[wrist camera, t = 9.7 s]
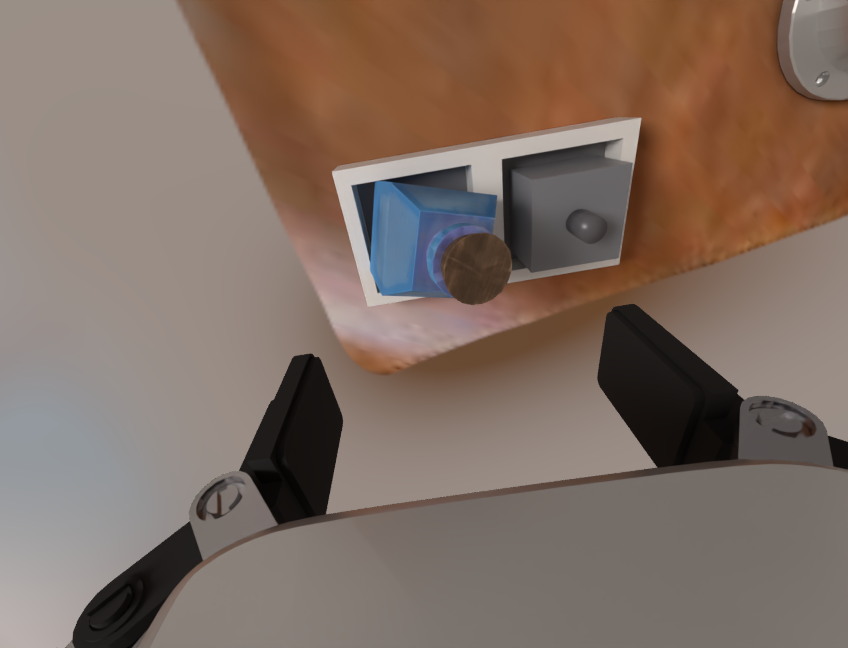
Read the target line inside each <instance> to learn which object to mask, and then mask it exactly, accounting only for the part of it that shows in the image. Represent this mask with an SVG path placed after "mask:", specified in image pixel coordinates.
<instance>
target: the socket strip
mask: <svg viewBox="0 0 848 648" xmlns="http://www.w3.org/2000/svg"><path fill="white" fill-rule="evenodd" d="M640 124H641V118H617V117H616V118H610V119H604V120H598V121H593V122H587V123H581V124H576V125H570V126H564V127H558V128H553V129H547V130H541V131H535V132H530V133H524V134H518V135H513V136H507V137H501V138H495V139H490V140H484V141H478V142H472V143H467V144H461V145H455V146H450V147H444V148H438V149H432V150H427V151H421V152H415V153H409V154H404V155H398V156H392V157H387V158H381V159H375V160H369V161H364V162H358V163H352V164H346V165H341V166H338V167H336V168H335V169H334V170H333V171H332V174H333V178H334V182H335V186H336V189H337V193H338V197H339V201H340V204H341V208H342V212H343V215H344V219H345V223H346V227H347V230H348V234H349V238H350V242H351V245H352V249H353V253H354V257H355V260H356V264H357V268H358V272H359V275H360V279H361V283H362V287H363V290H364V294H365V298H366V302H367V305H368V307H370V306H376V305H382V304H388V303H394V302H400V301H406V300H412V299H418V298H423V297H410V296H382V294H381V292H380V290H379V288H378V286H377V284H376V282H375V280H374V278H373V276H372V274H371V272H370V260H371V242H372V225H373V207H374V190H375V181H383V182H394V183H402V184H410V185H418V186H426V187H434V188H442V189H451V190H459V191H467V192H475V193H483V194H491V195H497V206H496V217H495V223H494V229H493V235H496V236H497V237H498V238H500V239H501V240H502V241H504V243H505V244H506V246H507V247H508V249H509V250H510V254H511V258H512V270H511V275H510V277H509V280H508V283H512V282H518V281H524V280H530V279H536V278H542V277H548V276H554V275H560V274H566V273H572V272H577V271H583V270H589V269H595V268H601V267H607V266H613V265H619V262H620V256H621V249H622V243H623V236H624V229H625V223H626V216H627V210H628V203H629V197H630V190H631V183H632V177H633V170H634V164H635V157H636V150H637V144H638V137H639V131H640ZM588 155H596V156H601V157H606V158H611V159H616V160H621V161H626V162H632V163H633V165H632V171H631V178H630V185H629V191H628V198H627V205H626V212H625V218H624V225H623V232H622V238H621V245H620V252H619V258H617V259H611V260H605V261H599V262H593V263H587V264H581V265H575V266H569V267H563V268H557V269H551V270H546V271H540V272H534V273H531V272H530V271H529V270H528V269H527V268H526V266H525V265H524V264H523V263H522V262H521V261H520V259H519V258H518V257H517V256H516V255H515V254H514V253H513V251H512V250H511V243H510V195H509V169H513V168H519V167H525V166H530V165H536V164H542V163H548V162H553V161H559V160H565V159H571V158H576V157H582V156H588Z"/></svg>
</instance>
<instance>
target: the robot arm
mask: <svg viewBox="0 0 848 648" xmlns="http://www.w3.org/2000/svg"><path fill="white" fill-rule="evenodd" d="M777 50H778V56H779V61H780V67H781V69H782V71H783V74H784V76H785V78H786V80H787V82H788V83H789V84H790V85H791V86H792V87H793V88H794V89H795V91H797V92H798V93H800V94H802V95H804V96H806V97H807V98H811V99H817V100H822V101H824V100H846V99H848V0H784V1H783V4H782V9H781V14H780V20H779V25H778V43H777ZM597 378H598V383H599V385H600V388H601V389H602V390H603V392H604V393H605V395H606V396H607V398H608V399H609V400H610V402H611V403H612V405H613V406H614V407H615V409H616V410H617V412H618V413H619V414H620V416H621V417H622V419H623V420H624V421H625V423H626V424H627V425H628V427H629V428H630V430H631V431H632V433H633V434H634V435H635V437H636V438H637V440H638V441H639V442H640V444H641V445H642V447H643V448H644V449H645V451H646V452H647V454H648V455H649V456H650V458H651V459H652V461H653V462H654V463H655V465H656V466H657V468H652V469H644V470H636V471H630V472H622V473H614V474H606V475H599V476H591V477H584V478H576V479H569V480H561V481H554V482H547V483H539V484H532V485H525V486H518V487H510V488H503V489H496V490H489V491H482V492H474V493H467V494H460V495H453V496H446V497H440V498H432V499H425V500H419V501H411V502H405V503H397V504H390V505H383V506H377V507H371V508H364V509H358V510H351V511H345V512H339V513H333V514H326V510H327V505H328V499H329V494H330V489H331V484H332V479H333V473H334V468H335V463H336V458H337V453H338V447H339V442H340V437H341V431H342V426H343V418H342V414H341V411H340V408H339V406H338V403H337V401H336V398H335V396H334V393H333V390H332V388H331V386H330V383H329V380H328V377H327V375H326V372H325V370H324V367H323V364H322V362H321V360H320V358H319V357H314V355H313V354H305V355H299V356H294V357H293V358H292V361H291V363H290V365H289V367H288V369H287V372H286V374H285V376H284V378H283V381H282V383H281V385H280V387H279V390H278V392H277V394H276V396H275V399H274V400H272V401H271V403H270V404H269V406H268V408H267V410H266V413H265V415H264V417H263V419H262V422H261V424H260V426H259V428H258V430H257V432H256V435H255V437H254V439H253V441H252V444H251V446H250V448H249V450H248V452H247V454H246V457H245V459H244V461H243V463H242V465H241V468H240V470H239V471H232V472H229V473H226V474H223V475H221V476H219V477H217V478H215V479H213V480H212V481H211V482H210V483H208V484H207V485H206V486H205V487H204V488H203V489H202V490H201V491H200V492H199V493H198V494H197V496H196V497H195V499H194V500H193V502H192V504H191V507H190V510H189V519H190V521H189V522H188V523H187V524H186V525H185V526H183V527H182V528H181V529H179V530H178V531H176V532H175V533H174V534H173V535H171V536H170V537H169V538H167V539H166V540H165V541H164V542H162V543H161V544H160V545H158V546H157V547H156V548H154V549H153V550H152V551H150V552H149V553H148V554H147V555H145V556H144V557H143V558H142V559H140V560H139V561H137V562H136V563H135V564H133V565H132V566H131V567H130V568H129V569H127V570H126V571H124V572H123V573H122V574H120V575H119V576H118V577H116V578H115V579H114V580H113V581H111V582H110V583H109V584H108V585H107V586H106V587H104V588H103V589H102V590H101V591H100V592H99V593H97V595H96V596H95V597H94V598H93V599H92V600H91V602H90V603H89V604H88V605H87V606H86V608H85V609H84V611H83V613H82V614H81V616H80V617H79V619H78V621H77V624H76V626H75V629H74V631H73V640H72V641H71V642H70V643H69V644H68V645H67V646H66V647H65V648H848V442H846V441H843V440H840V439H837V438H834V437H831V436H828V435H827V430H826V428H825V426H824V424H823V422H822V421H821V420H820V419H819V418H818V417H817V416H815V415H814V414H813V413H811V412H810V411H808V410H807V409H805V408H803V407H801V406H799V405H797V404H795V403H793V402H789V401H786V400H783V399H780V398H775V397H769V396H755V397H750V398H747V399H746V400H744V399H743V398H741V397H740V396H739V395H738V394H737V392H738V389H736V388H735V387H734V386H733V385H732V384H730V383H729V382H728V381H727V380H726V379H724V378H723V377H722V376H721V375H720V374H718V373H717V372H716V371H715V370H714V369H712V368H711V367H710V366H709V365H708V364H706V363H705V362H704V361H703V360H702V359H700V358H699V357H698V356H697V355H696V354H694V353H693V352H692V351H691V350H690V349H688V348H687V347H686V346H685V345H683V344H682V343H681V342H680V341H679V340H678V339H676V338H675V337H674V336H673V335H672V334H670V333H669V332H668V331H667V330H665V329H664V328H663V327H662V326H661V325H660V324H658V323H657V322H656V321H655V320H653V319H652V318H651V317H650V316H649V315H647V314H646V313H645V312H644V311H643V310H642V309H640V308H639V307H638V306H637V305H635V304H629V305H623V306H617V307H614V308H613V309H612V311H611V312H609V313H608V314H607V316H606V323H605V329H604V336H603V343H602V349H601V356H600V363H599V369H598V377H597Z"/></svg>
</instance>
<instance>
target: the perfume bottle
mask: <svg viewBox="0 0 848 648" xmlns="http://www.w3.org/2000/svg"><path fill="white" fill-rule="evenodd" d="M496 206H497V195H491V194H483V193H475V192H467V191H459V190H451V189H442V188H434V187H426V186H418V185H410V184H402V183H394V182H383V181H375V190H374V207H373V225H372V242H371V260H370V272H371V274H372V276H373V278H374V280H375V282H376V284H377V286H378V288H379V290H380V292H381V294H382V296H410V297H442V298H455V299H457V300H458V301H460V302H462V303H465V304H470V305H476V304H483V303H485V302H488V301H490V300H492V299H493V298H495V297H496V296H497V295H498V294H499V293H501V292H502V290H503V289H504V287H505V286H506V284H507V283H508V280H509V277H510V275H511V270H512V258H511V254H510V250H509V249H508V247H507V246H506V244H505V243H504V241H502V240H501V239H500V238H498V237H497V236H496V235H493V229H494V223H495V217H496Z"/></svg>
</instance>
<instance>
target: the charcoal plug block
mask: <svg viewBox="0 0 848 648" xmlns="http://www.w3.org/2000/svg"><path fill="white" fill-rule="evenodd" d="M632 165H633V163H632V162H626V161H621V160H616V159H611V158H606V157H601V156H596V155H588V156H582V157H576V158H571V159H565V160H559V161H553V162H548V163H542V164H536V165H530V166H525V167H519V168H513V169H509V195H510V243H511V250H512V251H513V253H514V254H515V255H516V256H517V257H518V258H519V259H520V261H521V262H522V263H523V264H524V265H525V266H526V268H527V269H528V270H529V271H530V272H531V273H534V272H540V271H546V270H551V269H557V268H563V267H569V266H575V265H581V264H587V263H593V262H599V261H605V260H611V259H617V258H619V252H620V245H621V238H622V232H623V225H624V218H625V212H626V205H627V198H628V191H629V185H630V178H631V171H632Z"/></svg>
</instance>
